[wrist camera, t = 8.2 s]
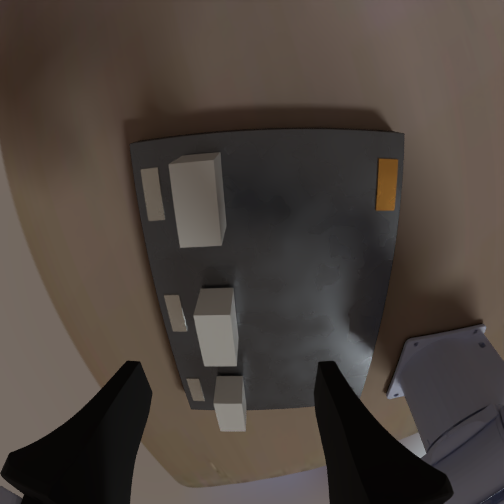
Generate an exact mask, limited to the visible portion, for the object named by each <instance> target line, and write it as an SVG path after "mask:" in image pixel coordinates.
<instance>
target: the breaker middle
mask: <svg viewBox="0 0 504 504" xmlns="http://www.w3.org/2000/svg"><path fill="white" fill-rule="evenodd" d="M193 316H194V321H195V326H196V331H197V335H198V340H199V345H200V349H201V354H202V358H203V363H204V366H237V354H238V338H239V337H238V328H237V318H236V309H235V299H234V289H233V288H208V289H200V293H199V297H198V300H197V304H196V308H195V312H194V315H193Z"/></svg>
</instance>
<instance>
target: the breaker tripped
mask: <svg viewBox="0 0 504 504" xmlns="http://www.w3.org/2000/svg"><path fill="white" fill-rule="evenodd" d="M169 173H170V181H171V189H172V196H173V203H174V211H175V217H176V224H177V231H178V237H179V244H180V248H187V247H207V246H222V243H223V238H224V234H225V230H226V214H225V202H224V191H223V178H222V166H221V153H220V152H215V153H204V154H193V155H183V156H181V157H179V158H178V159H176V160H174V161H173V162H171V163H170V164H169Z"/></svg>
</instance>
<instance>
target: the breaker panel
mask: <svg viewBox="0 0 504 504" xmlns="http://www.w3.org/2000/svg"><path fill="white" fill-rule="evenodd" d="M130 152H131V160H132V167H133V174H134V181H135V187H136V194H137V200H138V206H139V211H140V217H141V222H142V228H143V233H144V238H145V243H146V248H147V253H148V257H149V262H150V267H151V271H152V275H153V280H154V284H155V288H156V292H157V296H158V300H159V304H160V308H161V312H162V316H163V320H164V323H165V327H166V331H167V334H168V338H169V341H170V345H171V348H172V352H173V355H174V358H175V362H176V365H177V368H178V371H179V374H180V377H181V381H182V384H183V387H184V390H185V393H186V396H187V399H188V402H189V404H190V407H191V409H197V410H215V408H214V404H213V402H214V394H215V386H216V378H217V376H243V381H244V390H245V398H246V410H267V409H286V408H300V407H311V406H315V403H314V387H315V381H316V374H317V367H318V362H320V361H332V360H334V361H335V362H336V364H337V366H338V367H339V369H340V371H341V372H342V374H343V376H344V377H345V379H346V380H347V382H348V383H349V385H350V386H351V388H352V389H353V391H354V392H355V394H356V395H357V396H358V398H359V399H360V396H361V393H362V390H363V386H364V383H365V380H366V377H367V373H368V370H369V366H370V363H371V359H372V355H373V352H374V348H375V344H376V340H377V336H378V332H379V328H380V323H381V319H382V314H383V310H384V305H385V300H386V295H387V290H388V285H389V280H390V274H391V268H392V262H393V256H394V250H395V243H396V236H397V228H398V220H399V211H400V201H401V190H402V176H403V160H404V133H399V132H394V131H383V130H368V129H347V128H267V129H246V130H230V131H217V132H206V133H196V134H187V135H178V136H170V137H163V138H156V139H149V140H142V141H138V142H134V143H131V144H130ZM215 152H220V153H221V166H222V178H223V191H224V202H225V214H226V230H225V234H224V238H223V243H222V246H207V247H187V248H180V244H179V237H178V231H177V224H176V217H175V211H174V203H173V196H172V189H171V181H170V173H169V164H170V163H171V162H173V161H174V160H176V159H178V158H179V157H181V156H183V155H193V154H204V153H215ZM208 288H233V289H234V299H235V309H236V318H237V328H238V337H239V338H238V354H237V366H204V363H203V358H202V354H201V349H200V345H199V340H198V335H197V331H196V326H195V321H194V316H193V315H194V312H195V308H196V304H197V300H198V297H199V293H200V289H208Z"/></svg>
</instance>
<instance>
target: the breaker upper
mask: <svg viewBox="0 0 504 504" xmlns="http://www.w3.org/2000/svg"><path fill="white" fill-rule="evenodd" d="M213 404H214V408H215V412H216V416H217V419H218V423H219V427H220V431H246V398H245V390H244V381H243V376H217V378H216V386H215V394H214V402H213Z"/></svg>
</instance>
